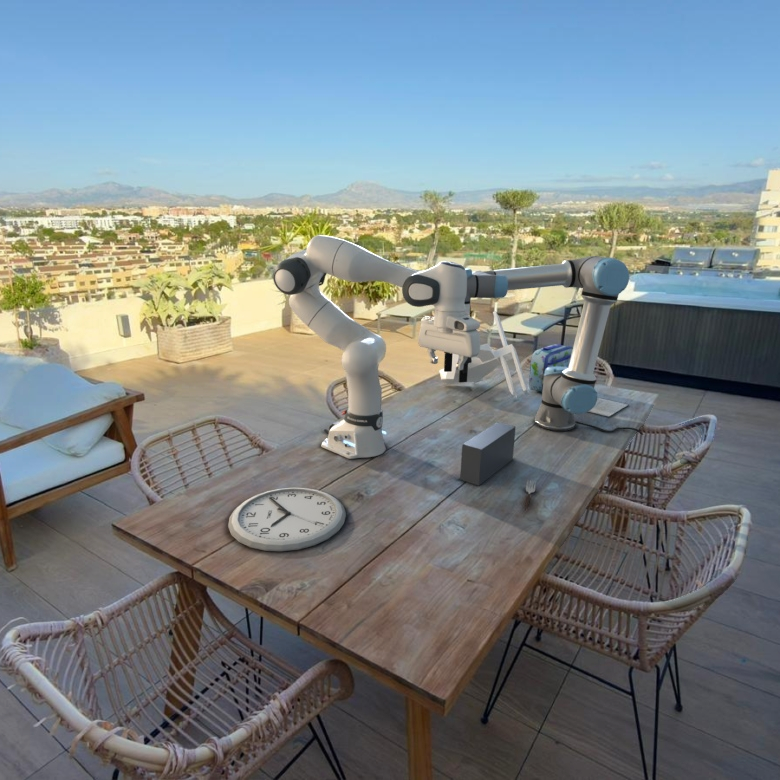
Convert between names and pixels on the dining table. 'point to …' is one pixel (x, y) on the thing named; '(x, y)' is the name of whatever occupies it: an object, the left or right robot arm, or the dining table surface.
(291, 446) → the dining table surface
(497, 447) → the box
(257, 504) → the wall clock
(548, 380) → the right robot arm
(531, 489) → the fork
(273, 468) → the dining table surface
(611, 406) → the invitation card
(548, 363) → the lunch box
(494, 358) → the white plastic object
